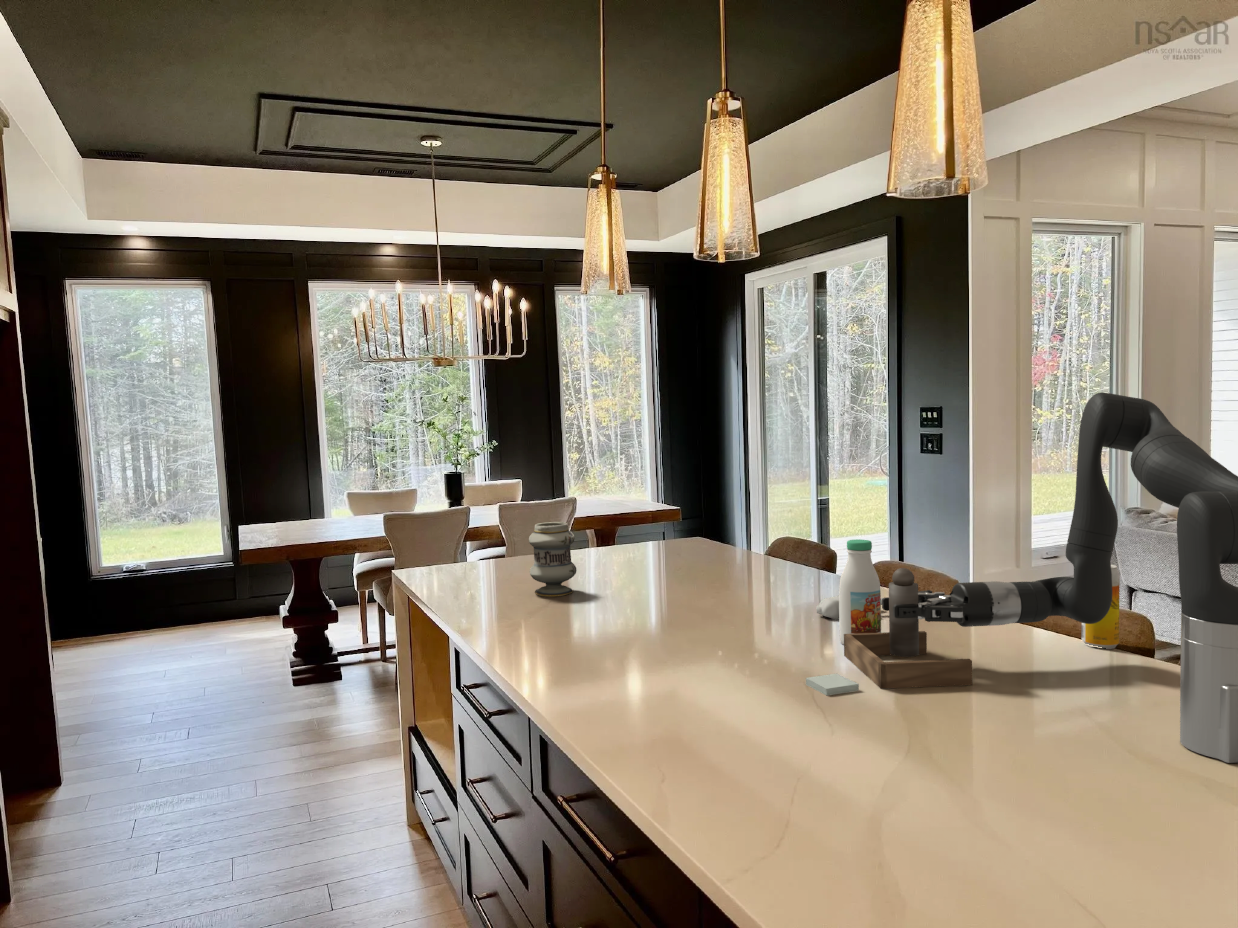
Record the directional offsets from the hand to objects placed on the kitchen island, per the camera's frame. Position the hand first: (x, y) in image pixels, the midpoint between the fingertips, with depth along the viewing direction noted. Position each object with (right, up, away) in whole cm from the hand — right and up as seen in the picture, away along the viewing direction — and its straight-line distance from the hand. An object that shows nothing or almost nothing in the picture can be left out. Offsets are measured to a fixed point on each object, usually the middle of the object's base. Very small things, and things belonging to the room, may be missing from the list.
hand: (888, 607), depth 145 cm
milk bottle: (0, -10, +17) cm, 20 cm away
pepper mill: (+3, -8, +1) cm, 8 cm away
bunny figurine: (+5, -9, +41) cm, 42 cm away
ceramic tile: (-12, -12, -8) cm, 19 cm away
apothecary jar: (-63, -9, +73) cm, 97 cm away
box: (+3, -11, +1) cm, 11 cm away
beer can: (+43, -9, +12) cm, 46 cm away
